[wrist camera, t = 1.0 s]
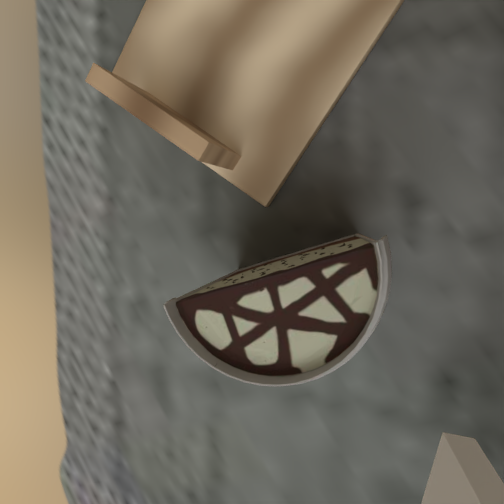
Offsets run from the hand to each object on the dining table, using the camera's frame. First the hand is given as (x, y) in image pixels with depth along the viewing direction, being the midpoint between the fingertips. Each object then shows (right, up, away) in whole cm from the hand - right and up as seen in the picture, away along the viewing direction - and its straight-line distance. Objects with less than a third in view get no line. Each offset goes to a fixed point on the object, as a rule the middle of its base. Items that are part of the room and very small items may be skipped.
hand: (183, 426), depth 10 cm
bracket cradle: (+2, +20, +17) cm, 26 cm away
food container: (+6, +2, +18) cm, 19 cm away
